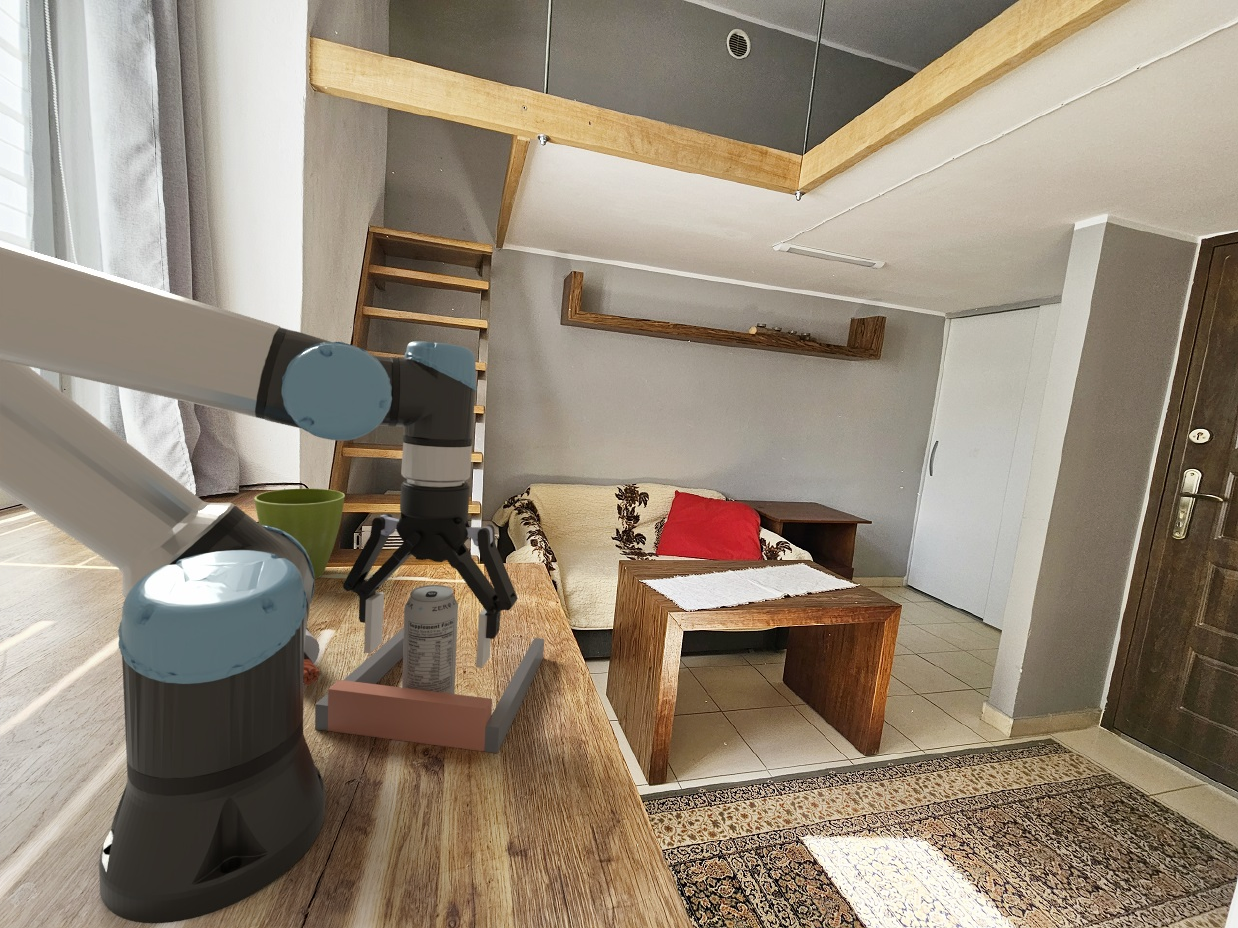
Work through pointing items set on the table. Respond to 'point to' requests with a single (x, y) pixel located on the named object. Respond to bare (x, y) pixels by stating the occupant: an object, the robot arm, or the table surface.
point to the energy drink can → (430, 639)
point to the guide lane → (422, 705)
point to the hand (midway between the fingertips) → (427, 655)
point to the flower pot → (305, 519)
